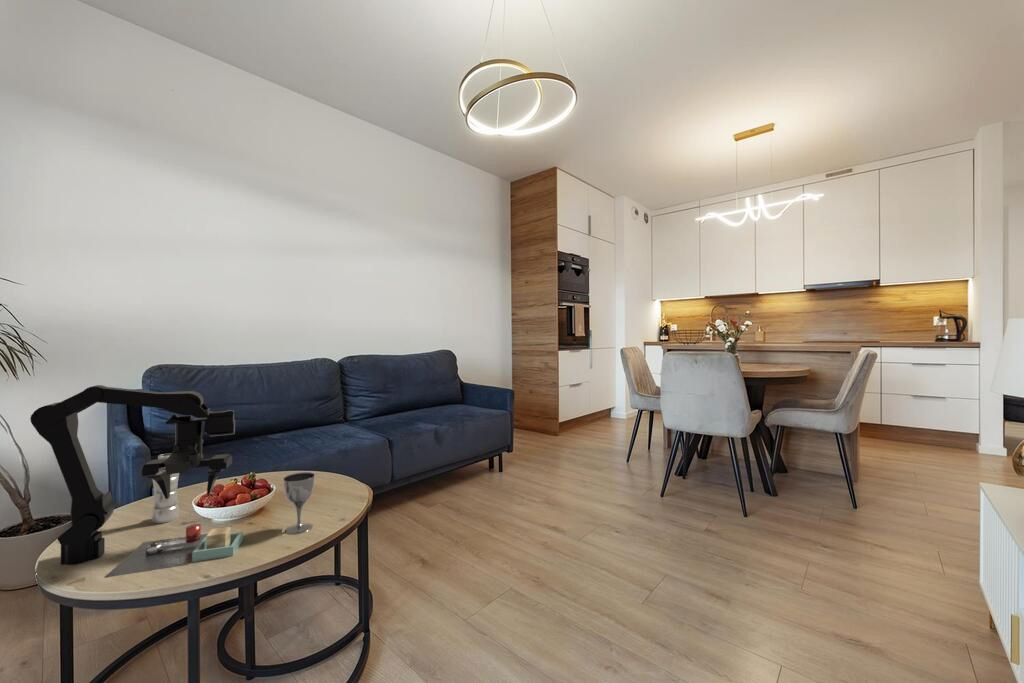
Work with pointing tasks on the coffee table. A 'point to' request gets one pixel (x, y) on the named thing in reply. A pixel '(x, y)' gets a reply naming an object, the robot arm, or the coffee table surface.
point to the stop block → (218, 538)
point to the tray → (217, 549)
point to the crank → (191, 537)
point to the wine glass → (298, 497)
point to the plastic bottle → (165, 500)
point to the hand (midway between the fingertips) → (188, 496)
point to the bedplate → (155, 558)
